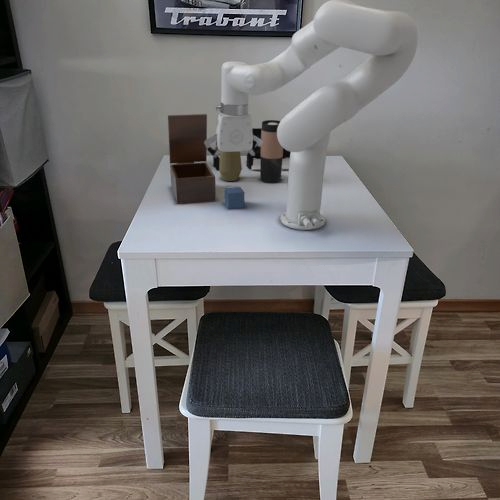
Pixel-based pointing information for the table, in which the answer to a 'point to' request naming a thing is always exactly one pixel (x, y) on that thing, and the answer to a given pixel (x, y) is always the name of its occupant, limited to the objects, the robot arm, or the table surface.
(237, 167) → the squeeze bottle
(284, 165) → the laptop
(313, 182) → the robot arm
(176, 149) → the lid
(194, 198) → the box
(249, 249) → the table surface
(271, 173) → the travel mug
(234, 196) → the block
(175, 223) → the table surface
